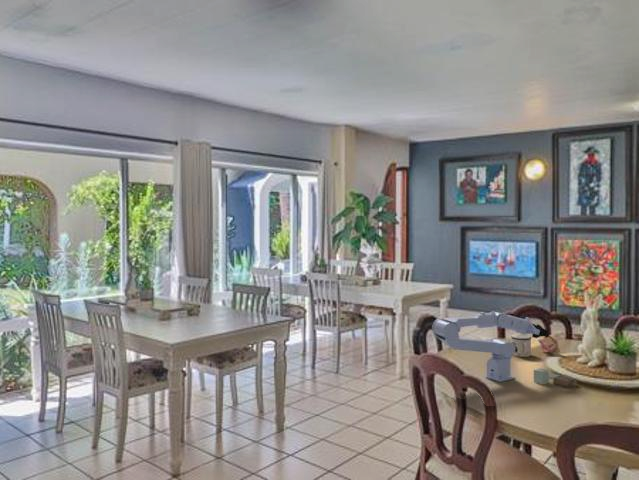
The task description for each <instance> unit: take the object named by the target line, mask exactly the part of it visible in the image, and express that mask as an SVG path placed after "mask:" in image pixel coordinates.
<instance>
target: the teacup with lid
mask: <svg viewBox="0 0 639 480" xmlns="http://www.w3.org/2000/svg"><path fill="white" fill-rule="evenodd" d="M510 338H511V343H512V344H513V345H514V347H515V352H514V354H513V355H512V356H515V357H516V358H517V357H520V358H528V357H529V358H530V357H531V356H532V335H531V334H523V333H521V332H516V333H513V334H512V335H511V336H510Z"/></svg>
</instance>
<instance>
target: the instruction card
mask: <svg viewBox="0 0 639 480" xmlns="http://www.w3.org/2000/svg"><path fill="white" fill-rule="evenodd" d="M557 376H560V374H555V373H551V374H549V379H551V380H552V379H553V377H557Z"/></svg>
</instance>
